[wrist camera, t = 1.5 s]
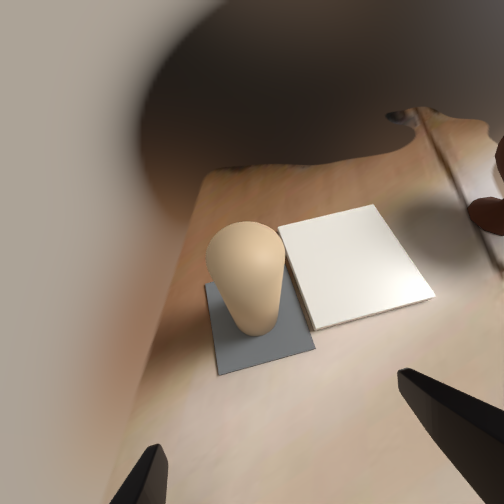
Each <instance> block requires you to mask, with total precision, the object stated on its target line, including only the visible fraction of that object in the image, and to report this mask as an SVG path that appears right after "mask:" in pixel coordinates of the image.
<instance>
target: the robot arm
mask: <svg viewBox="0 0 504 504" xmlns="http://www.w3.org/2000/svg"><path fill="white" fill-rule="evenodd" d="M397 377H398V388H399V391H400V393H401V395H402V396H403V398H404V399H405V400H406V402H407V403H408V405H409V406H410V408H411V409H412V410H413V412H414V413H415V415H416V416H417V418H418V419H419V421H420V422H421V423H422V425H423V426H424V428H425V429H426V431H427V432H428V433H429V435H430V436H431V438H432V439H433V440H434V441H435V443H436V444H437V445H438V446H439V448H440V449H441V450H442V451H443V453H444V454H445V455H446V456H447V457H448V459H449V460H450V461H451V462H452V464H453V465H454V466H455V467H456V468H457V470H458V471H459V472H460V473H461V474H462V476H463V477H464V478H465V479H466V481H467V482H468V483H469V484H470V485H471V487H472V488H473V489H474V490H475V492H476V493H477V494H478V495H479V496H480V498H481V499H482V500H483V501H484V503H485V504H504V411H503V410H501V409H499V408H497V407H494V406H492V405H490V404H488V403H486V402H483V401H481V400H479V399H477V398H475V397H472V396H470V395H468V394H466V393H464V392H461V391H459V390H457V389H455V388H453V387H450V386H448V385H446V384H444V383H442V382H439V381H437V380H435V379H433V378H431V377H428V376H426V375H424V374H422V373H420V372H417V371H415V370H413V369H411V368H404V369H401V370H398V372H397ZM167 477H168V460H167V457H166V455H165V453H164V451H163V448H162V446H161V445H160V444H155V445H152V446H149V447H148V448H147V449H146V450H145V451H144V453H143V454H142V456H141V457H140V459H139V460H138V462H137V463H136V465H135V466H134V468H133V469H132V471H131V472H130V474H129V475H128V477H127V478H126V480H125V481H124V483H123V484H122V486H121V487H120V489H119V490H118V492H117V493H116V495H115V496H114V497H113V499H112V500H111V502H110V503H109V504H165V503H166V490H167Z"/></svg>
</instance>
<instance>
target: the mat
mask: <svg viewBox="0 0 504 504" xmlns="http://www.w3.org/2000/svg"><path fill="white" fill-rule="evenodd" d="M205 286H206V292H207V299H208V306H209V312H210V319H211V325H212V332H213V339H214V345H215V352H216V359H217V365H218V372H219V375H222V374H226V373H229V372H233V371H237V370H240V369H244V368H248V367H251V366H255V365H258V364H262V363H266V362H269V361H273V360H276V359H280V358H284V357H287V356H291V355H294V354H298V353H302V352H305V351H309V350H312V349H316V348H315V345H314V343H313V340H312V337H311V334H310V331H309V329H308V326H307V323H306V320H305V318H304V315H303V312H302V309H301V306H300V304H299V301H298V298H297V295H296V293H295V290H294V287H293V284H292V281H291V279H290V276H289V273H288V270H287V268H286V265H285V264H284V270H283V278H282V287H281V295H280V303H279V311H278V318H277V322H276V324H275V326H274V328H273V329H272V330H271V331H270V332H268V333H267V334H265V335H262V336H249V335H247V334H245V333H243V332H242V331H241V330H240V329H239V328H238V327H237V325H236V323H235V321H234V319H233V317H232V316H231V314H230V312H229V310H228V308H227V306H226V304H225V302H224V300H223V298H222V296H221V294H220V292H219V290H218V288H217V286H216V284H215V283H214V282H210V283H206V284H205Z"/></svg>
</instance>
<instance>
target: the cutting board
mask: <svg viewBox="0 0 504 504" xmlns="http://www.w3.org/2000/svg"><path fill="white" fill-rule="evenodd" d="M278 234H279V237H280V238H281V240H282V242H283V245H284V248H285V253H286V256H287V259H288V261H289V264H290V267H291V269H292V272H293V275H294V278H295V280H296V283H297V286H298V288H299V291H300V294H301V296H302V299H303V302H304V304H305V307H306V310H307V313H308V315H309V318H310V321H311V323H312V326H313V329H314V331H316V330H320V329H324V328H327V327H331V326H335V325H338V324H342V323H346V322H349V321H353V320H357V319H360V318H364V317H368V316H371V315H375V314H379V313H382V312H386V311H390V310H393V309H397V308H401V307H404V306H408V305H412V304H416V303H419V302H423V301H427V300H430V299H432V298H434V297H436V295H435V294H434V292H433V291H432V289H431V288H430V286H429V285H428V283H427V282H426V281H425V279H424V278H423V276H422V275H421V273H420V272H419V270H418V269H417V267H416V266H415V264H414V263H413V262H412V260H411V259H410V257H409V256H408V254H407V253H406V251H405V250H404V248H403V247H402V246H401V244H400V243H399V241H398V240H397V238H396V237H395V235H394V234H393V232H392V231H391V229H390V228H389V227H388V225H387V224H386V222H385V221H384V219H383V218H382V216H381V215H380V213H379V212H378V210H377V209H376V208H375V206H374V205H373V204H372V205H368V206H364V207H360V208H355V209H351V210H347V211H343V212H339V213H334V214H330V215H326V216H322V217H318V218H313V219H309V220H305V221H301V222H297V223H292V224H288V225H284V226H280V227H278Z"/></svg>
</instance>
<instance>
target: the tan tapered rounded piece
mask: <svg viewBox="0 0 504 504" xmlns="http://www.w3.org/2000/svg"><path fill="white" fill-rule="evenodd" d="M284 262H285V248H284V245H283V242H282V240H281V238H280V237H279V236H278V234H277V233H276V232H275V231H273V230H272V229H271V228H269V227H267V226H266V225H263V224H260V223H256V222H238V223H234V224H231V225H229V226H227V227H225V228H223V229H222V230H220V231H219V232H218V233H217V234H216V235H215V236H214V237H213V238H212V240H211V241H210V243H209V245H208V248H207V251H206V265H207V268H208V271H209V273H210V275H211V277H212V279H213V281H214V283H215V284H216V286H217V288H218V290H219V292H220V294H221V296H222V298H223V300H224V302H225V304H226V306H227V308H228V310H229V312H230V314H231V316H232V317H233V319H234V321H235V323H236V325H237V327H238V328H239V329H240V330H241V331H242V332H243V333H245V334H247V335H249V336H262V335H265V334H267V333H268V332H270V331H271V330H272V329H273V328H274V326H275V324H276V322H277V318H278V311H279V303H280V295H281V287H282V278H283V270H284Z"/></svg>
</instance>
